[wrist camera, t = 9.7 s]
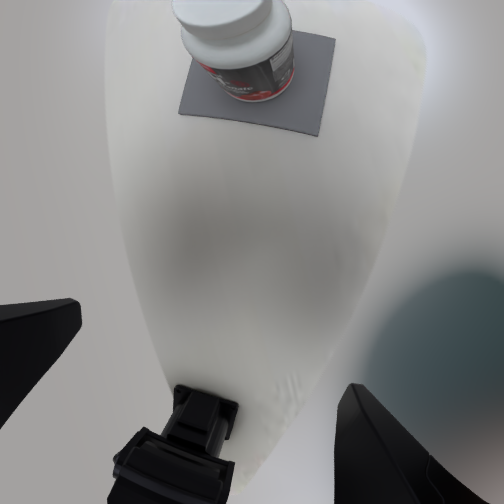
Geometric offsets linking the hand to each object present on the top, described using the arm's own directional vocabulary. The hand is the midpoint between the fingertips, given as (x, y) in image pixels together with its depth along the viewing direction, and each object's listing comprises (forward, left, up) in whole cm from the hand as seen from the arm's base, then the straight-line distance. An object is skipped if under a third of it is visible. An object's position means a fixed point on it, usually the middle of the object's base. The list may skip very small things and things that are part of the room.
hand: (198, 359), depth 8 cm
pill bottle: (+13, +3, -13) cm, 18 cm away
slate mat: (+13, +3, -13) cm, 18 cm away
